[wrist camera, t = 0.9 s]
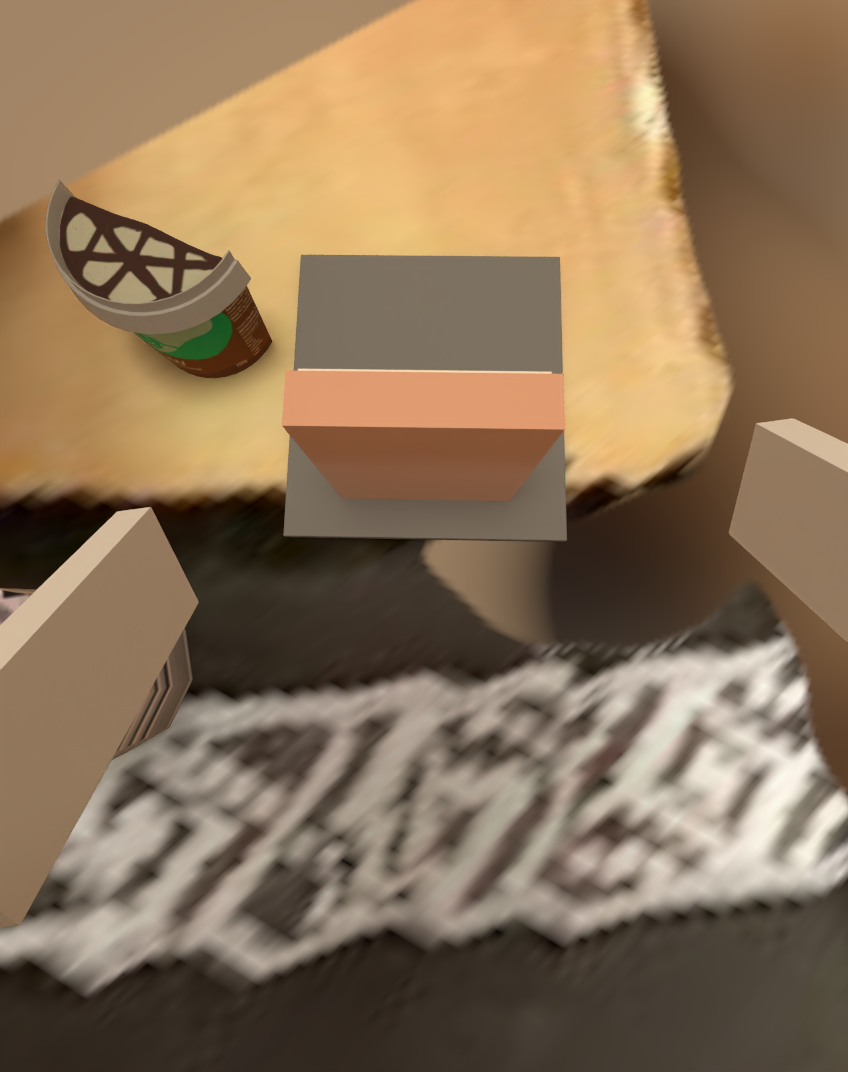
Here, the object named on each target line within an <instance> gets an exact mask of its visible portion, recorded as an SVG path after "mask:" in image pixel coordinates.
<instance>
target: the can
mask: <svg viewBox="0 0 848 1072" xmlns="http://www.w3.org/2000/svg"><path fill="white" fill-rule="evenodd" d="M35 591H36V590H31V589H5V588H0V625H1V624H2V623H3V622H4V621H5V620H6V619H7V618H8V617H9V616H10V615H11V614H12V613H13V612H14V611H15V610H17V609H18V608H19V607H20V606H21V605H22V604H23V603H24V602H25V601H26V600H27V599H28V598H29V597H30V596H31V595H32V594H33V593H34V592H35ZM192 680H193V677H192V670H191V663H190V656H189V649H188V643H187V636H186V630H185V629H184V630H183V631H182V633H181V635H180V637H179V639H178V641H177V642H176V644H175V646H174V648H173V650H172V651H171V653H170V655H169V657H168V659H167V660H166V662H165V664H164V666H163V668H162V669H161V671H160V673H159V675H158V677H157V678H156V680H155V682H154V684H153V686H152V687H151V689H150V691H149V693H148V695H147V697H146V698H145V700H144V702H143V704H142V706H141V707H140V709H139V711H138V713H137V715H136V716H135V718H134V720H133V722H132V724H131V725H130V727H129V729H128V731H127V733H126V734H125V736H124V738H123V740H122V742H121V743H120V745H119V747H118V749H117V751H116V753H115V754H114V756H113V758H112V759H114V758H116V757H118V756H120V755H123V754H125V753H126V752H128V751H130V750H131V749H133V748H135V747H136V746H138V745H140V744H141V743H143V742H145V741H147V740H148V739H150V738H152V737H153V736H155V735H157V734H158V733H160V732H162V731H164V730H165V729H167V728H169V727H170V725H171V723H172V721H173V719H174V717H175V715H176V713H177V711H178V709H179V707H180V705H181V703H182V700H183V698H184V696H185V694H186V692H187V690H188V688H189V686H190V684H191V682H192Z"/></svg>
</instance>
